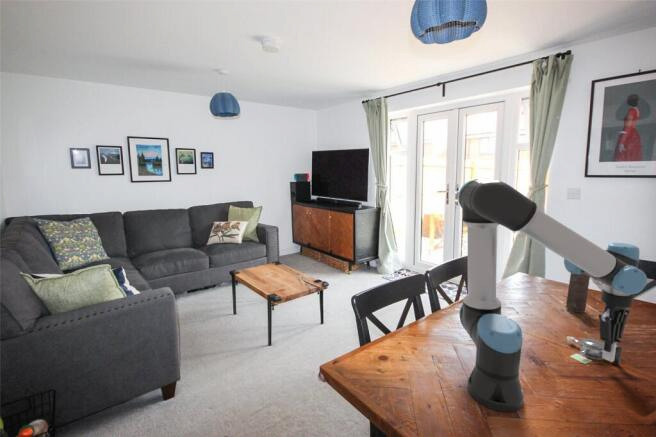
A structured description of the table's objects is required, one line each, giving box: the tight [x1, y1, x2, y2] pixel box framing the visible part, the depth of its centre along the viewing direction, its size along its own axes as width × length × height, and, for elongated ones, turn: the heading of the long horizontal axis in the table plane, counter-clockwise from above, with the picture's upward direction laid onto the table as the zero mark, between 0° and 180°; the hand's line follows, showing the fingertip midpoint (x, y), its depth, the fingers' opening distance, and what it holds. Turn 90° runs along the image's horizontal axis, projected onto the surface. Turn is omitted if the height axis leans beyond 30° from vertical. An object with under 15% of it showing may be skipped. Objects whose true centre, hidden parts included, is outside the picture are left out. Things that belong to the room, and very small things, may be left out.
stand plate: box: [569, 348, 605, 365], centre depth 119 cm, size 20×13×1 cm, turn 114°
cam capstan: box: [566, 335, 623, 366], centre depth 119 cm, size 15×17×7 cm
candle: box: [565, 273, 591, 313], centre depth 154 cm, size 8×7×20 cm
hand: (607, 359), depth 109 cm, fingers closed
